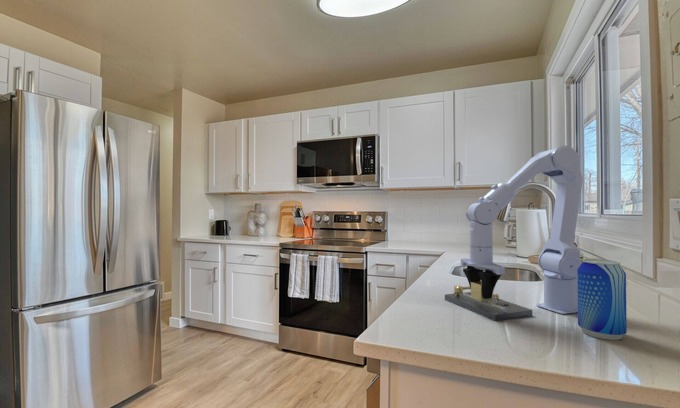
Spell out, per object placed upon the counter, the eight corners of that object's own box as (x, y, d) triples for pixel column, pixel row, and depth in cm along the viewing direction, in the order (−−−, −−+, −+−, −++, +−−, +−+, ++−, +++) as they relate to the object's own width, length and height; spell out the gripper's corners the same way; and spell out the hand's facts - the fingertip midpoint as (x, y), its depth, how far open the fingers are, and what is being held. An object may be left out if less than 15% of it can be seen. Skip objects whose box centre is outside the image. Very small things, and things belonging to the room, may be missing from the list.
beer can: (568, 327, 76) (568, 258, 76) (601, 326, 77) (600, 257, 77) (601, 342, 68) (600, 264, 68) (637, 340, 69) (636, 264, 69)
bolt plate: (477, 296, 103) (477, 283, 104) (532, 315, 84) (532, 300, 85) (444, 299, 100) (444, 286, 100) (494, 320, 81) (494, 304, 81)
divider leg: (493, 298, 94) (492, 280, 94) (504, 302, 90) (504, 283, 90) (470, 301, 91) (470, 281, 91) (481, 305, 87) (481, 285, 88)
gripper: (451, 244, 96) (452, 290, 96) (488, 250, 82) (489, 304, 82) (472, 243, 98) (472, 289, 98) (511, 249, 84) (511, 302, 84)
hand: (481, 296), depth 90 cm, fingers closed on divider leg, 4 cm apart
